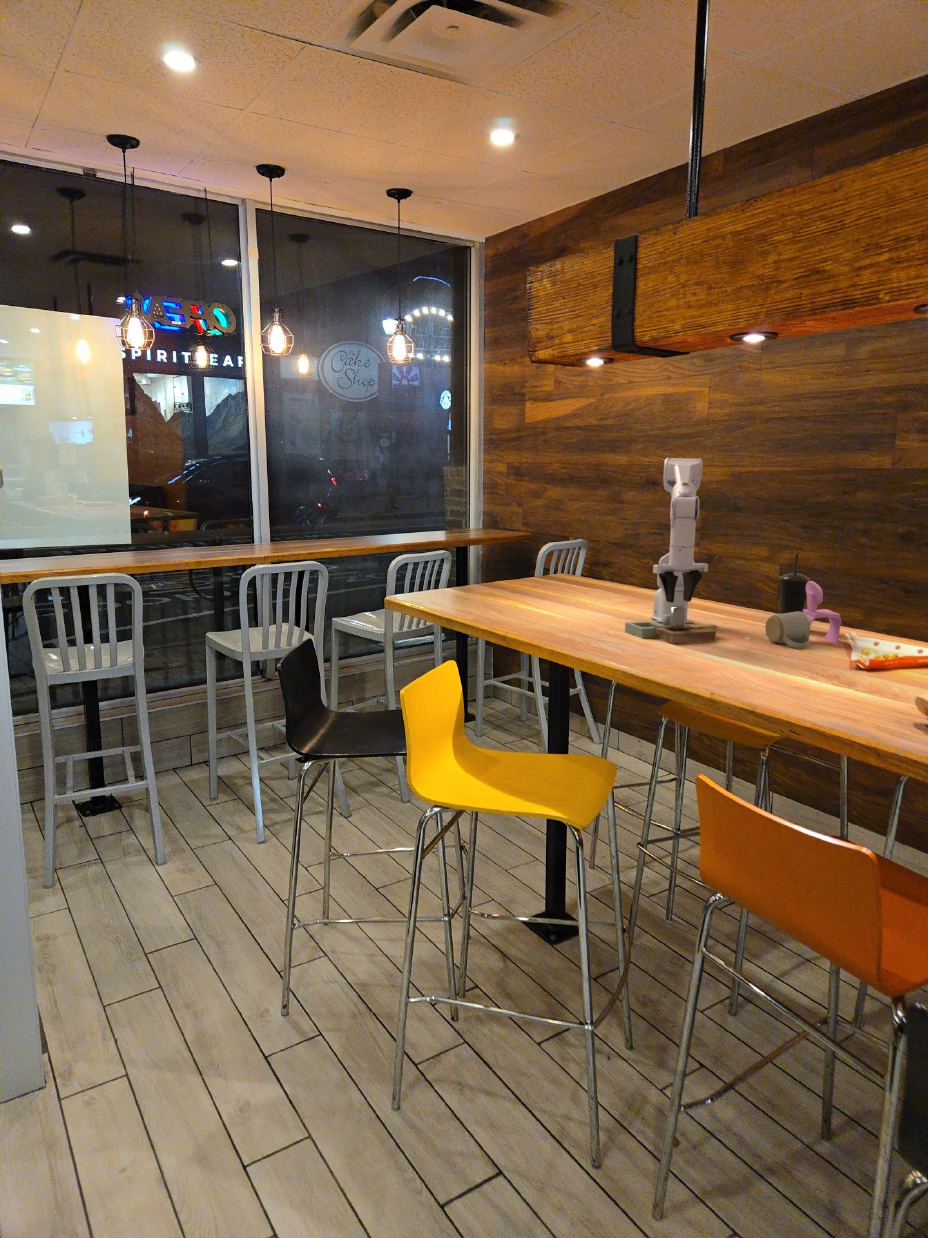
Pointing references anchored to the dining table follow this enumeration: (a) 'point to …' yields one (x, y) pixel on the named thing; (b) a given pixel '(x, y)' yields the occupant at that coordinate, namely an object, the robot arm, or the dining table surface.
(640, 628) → the rack
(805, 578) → the drinking cup
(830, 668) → the dining table surface
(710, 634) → the socket block
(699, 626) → the brown rectangular block
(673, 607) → the grey metal cylinder
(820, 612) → the toy chair
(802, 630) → the ceramic mug
